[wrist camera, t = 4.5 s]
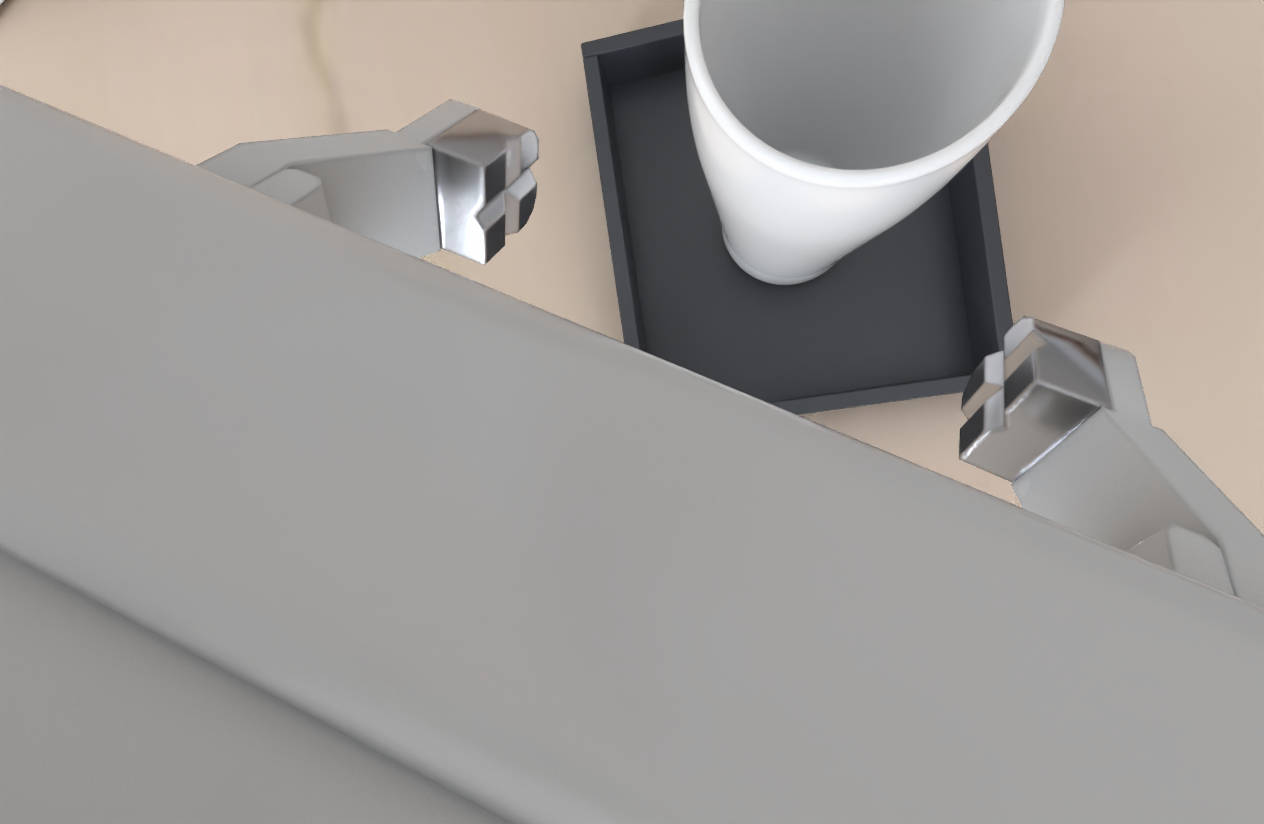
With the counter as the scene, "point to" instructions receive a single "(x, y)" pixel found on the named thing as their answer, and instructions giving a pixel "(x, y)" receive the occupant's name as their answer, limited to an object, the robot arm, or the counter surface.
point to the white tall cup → (847, 113)
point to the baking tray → (783, 314)
